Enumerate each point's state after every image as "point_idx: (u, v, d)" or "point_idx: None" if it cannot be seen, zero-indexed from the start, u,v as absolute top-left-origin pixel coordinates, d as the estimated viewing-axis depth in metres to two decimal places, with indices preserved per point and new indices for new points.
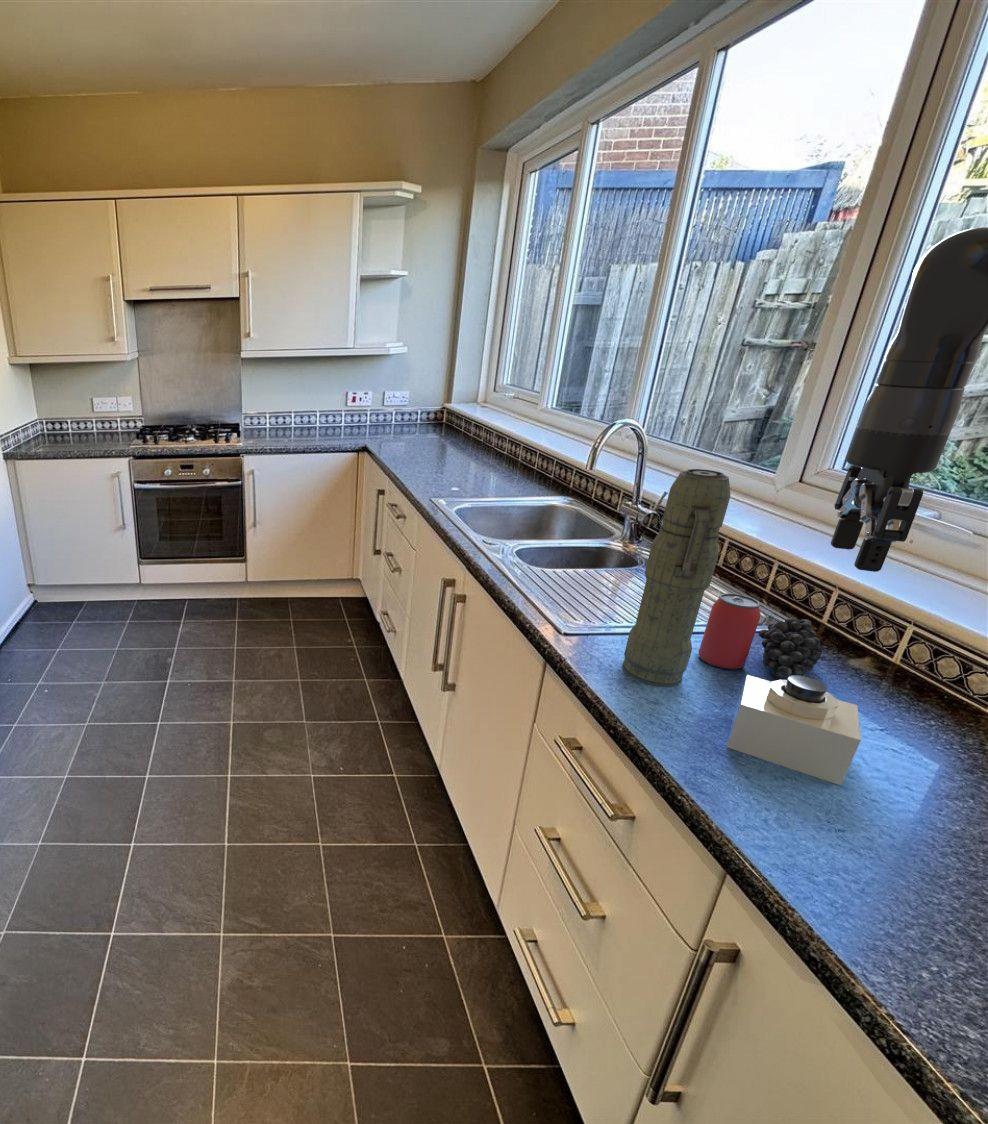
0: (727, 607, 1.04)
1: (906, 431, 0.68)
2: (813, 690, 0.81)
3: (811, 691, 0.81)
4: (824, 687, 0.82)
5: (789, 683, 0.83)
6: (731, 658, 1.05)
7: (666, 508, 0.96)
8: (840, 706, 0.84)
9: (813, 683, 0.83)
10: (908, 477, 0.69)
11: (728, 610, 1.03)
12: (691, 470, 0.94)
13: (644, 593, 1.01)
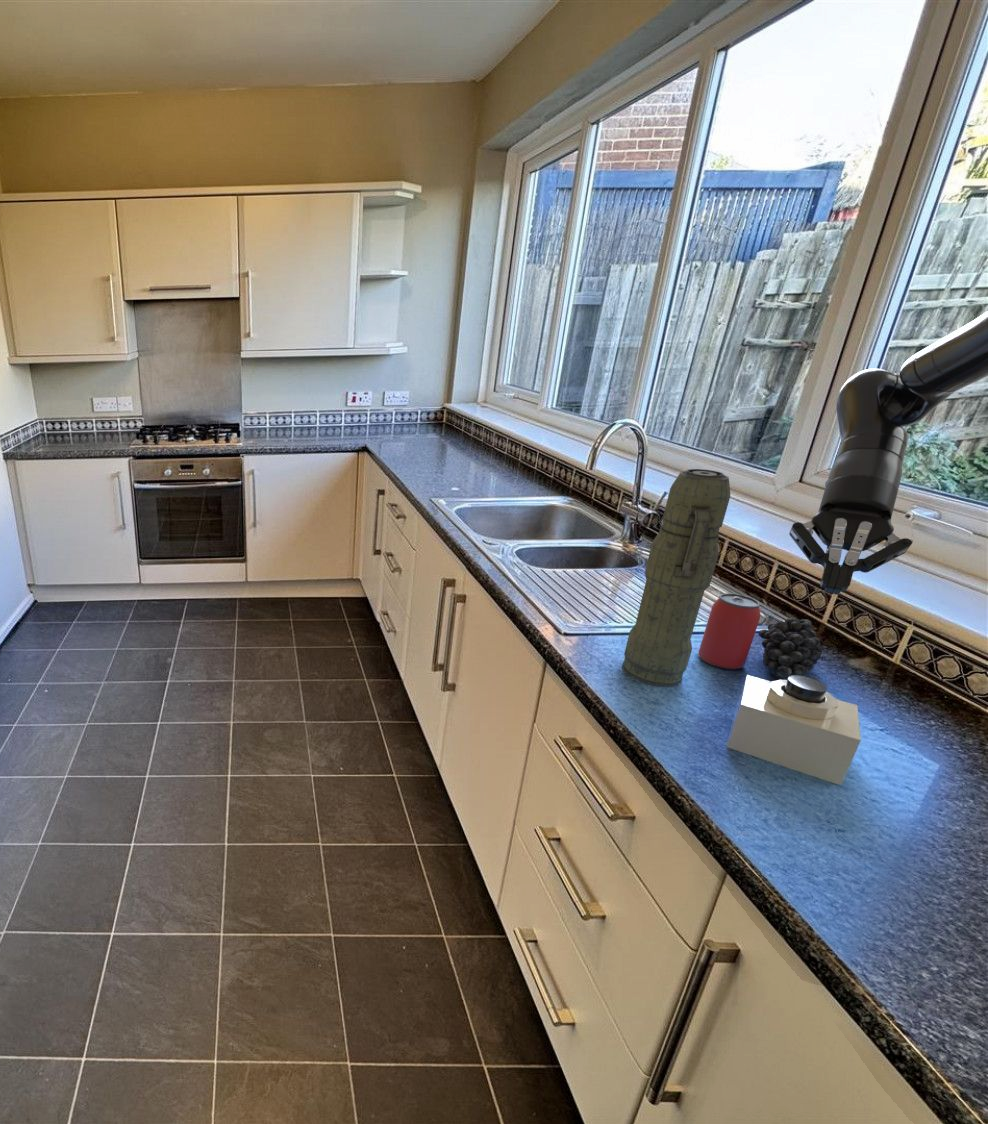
0: (727, 607, 1.04)
1: None
2: (813, 690, 0.81)
3: (811, 691, 0.81)
4: (824, 687, 0.82)
5: (789, 683, 0.83)
6: (731, 658, 1.05)
7: (666, 508, 0.96)
8: (840, 706, 0.84)
9: (813, 683, 0.83)
10: (820, 510, 0.90)
11: (727, 610, 1.03)
12: (691, 470, 0.94)
13: (644, 593, 1.01)
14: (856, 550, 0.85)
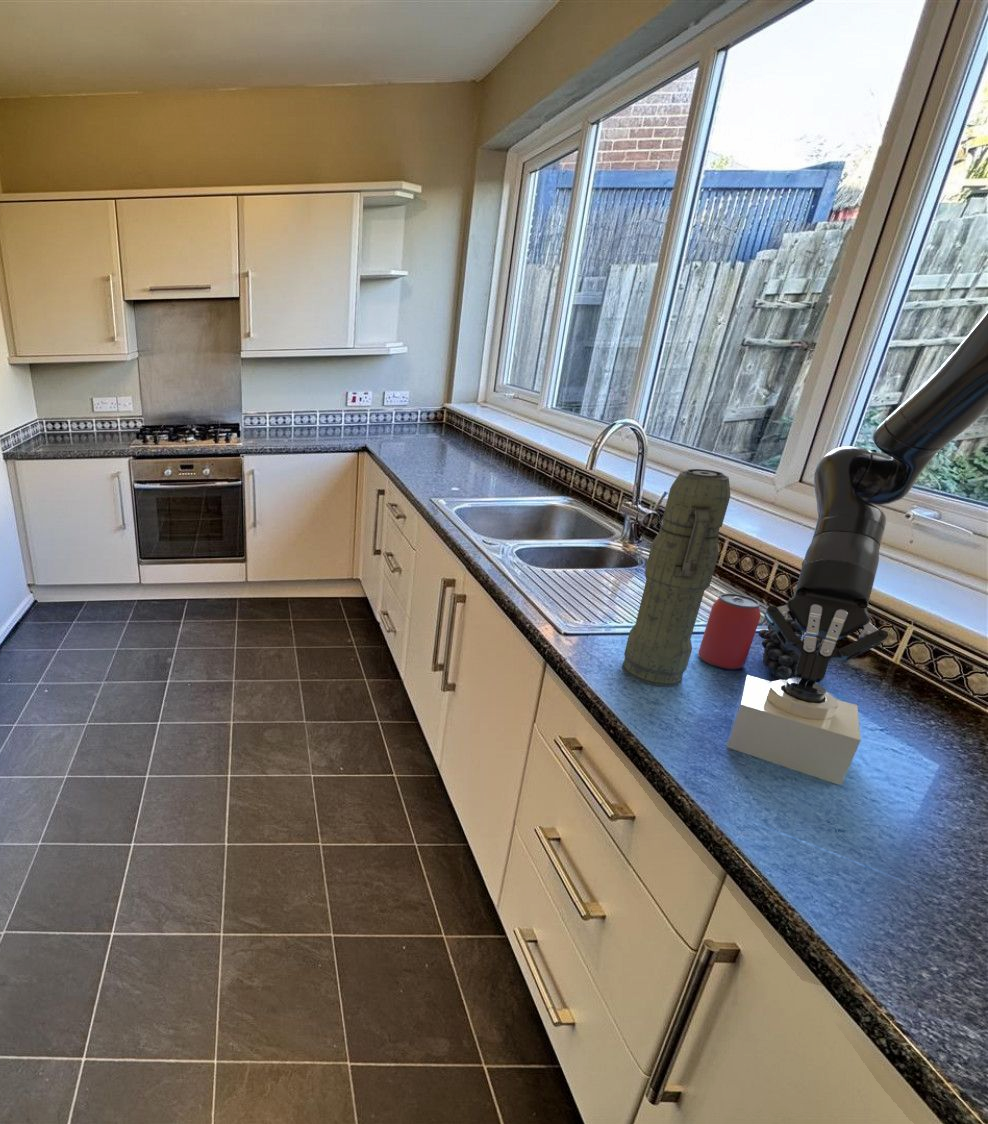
0: (727, 607, 1.04)
1: None
2: (812, 692, 0.81)
3: (811, 693, 0.81)
4: (823, 689, 0.82)
5: (788, 685, 0.84)
6: (731, 658, 1.05)
7: (666, 508, 0.96)
8: (840, 706, 0.84)
9: (812, 685, 0.83)
10: (795, 593, 0.87)
11: (728, 610, 1.03)
12: (691, 470, 0.94)
13: (644, 593, 1.01)
14: (831, 640, 0.82)
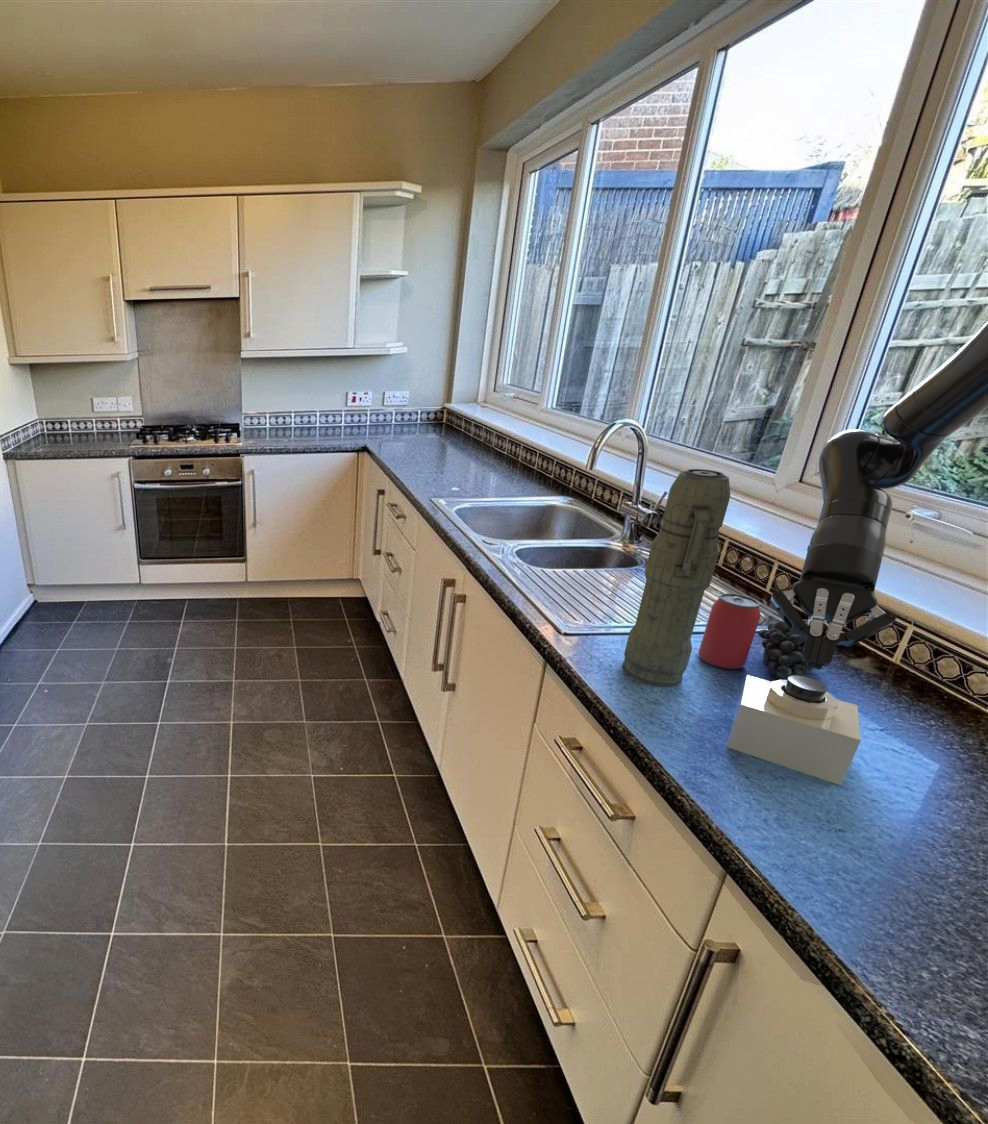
0: (727, 607, 1.04)
1: (807, 552, 0.89)
2: (813, 690, 0.81)
3: (811, 691, 0.81)
4: (824, 687, 0.82)
5: (789, 683, 0.83)
6: (731, 658, 1.05)
7: (666, 508, 0.96)
8: (840, 706, 0.84)
9: (813, 683, 0.83)
10: (801, 578, 0.86)
11: (728, 610, 1.03)
12: (691, 470, 0.94)
13: (644, 593, 1.01)
14: (838, 623, 0.82)
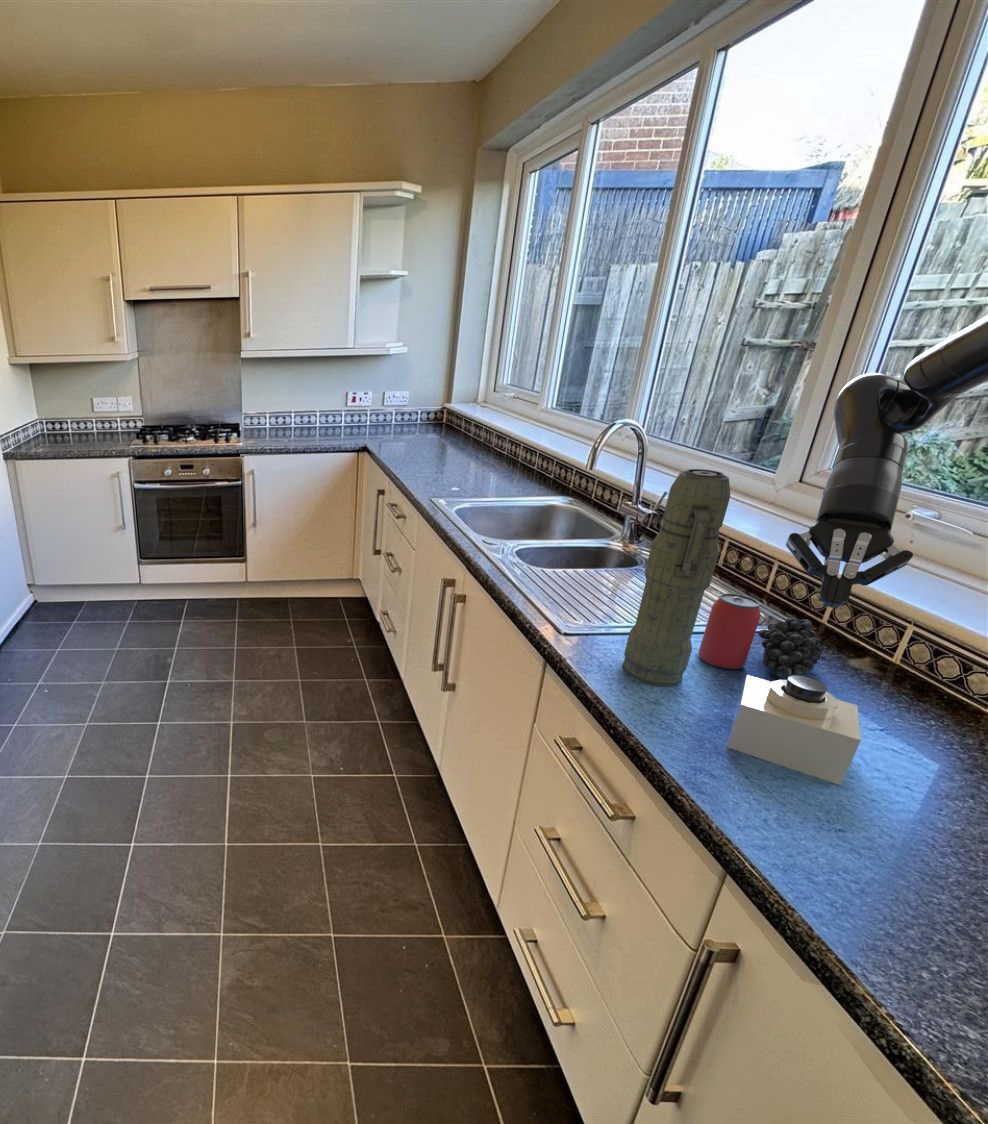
0: (727, 607, 1.04)
1: None
2: (813, 690, 0.81)
3: (811, 691, 0.81)
4: (824, 687, 0.82)
5: (789, 683, 0.83)
6: (731, 658, 1.05)
7: (666, 508, 0.96)
8: (840, 706, 0.84)
9: (813, 683, 0.83)
10: (817, 520, 0.87)
11: (728, 610, 1.03)
12: (691, 470, 0.94)
13: (644, 593, 1.01)
14: (855, 562, 0.82)
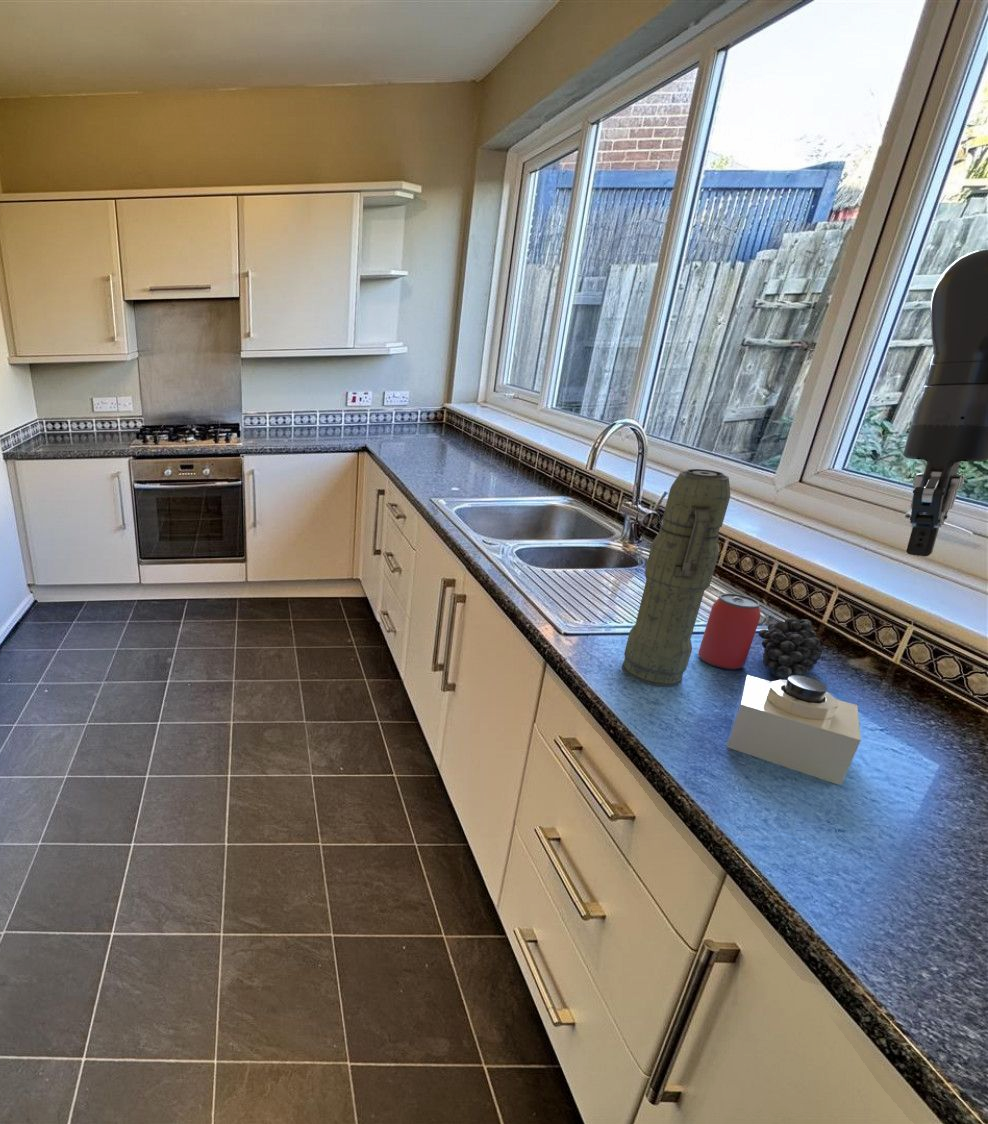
0: (727, 607, 1.04)
1: (939, 422, 0.77)
2: (813, 690, 0.81)
3: (811, 691, 0.81)
4: (824, 687, 0.82)
5: (789, 683, 0.83)
6: (731, 658, 1.05)
7: (666, 508, 0.96)
8: (840, 706, 0.84)
9: (813, 683, 0.83)
10: (947, 464, 0.77)
11: (728, 610, 1.03)
12: (691, 470, 0.94)
13: (644, 593, 1.01)
14: (948, 509, 0.80)
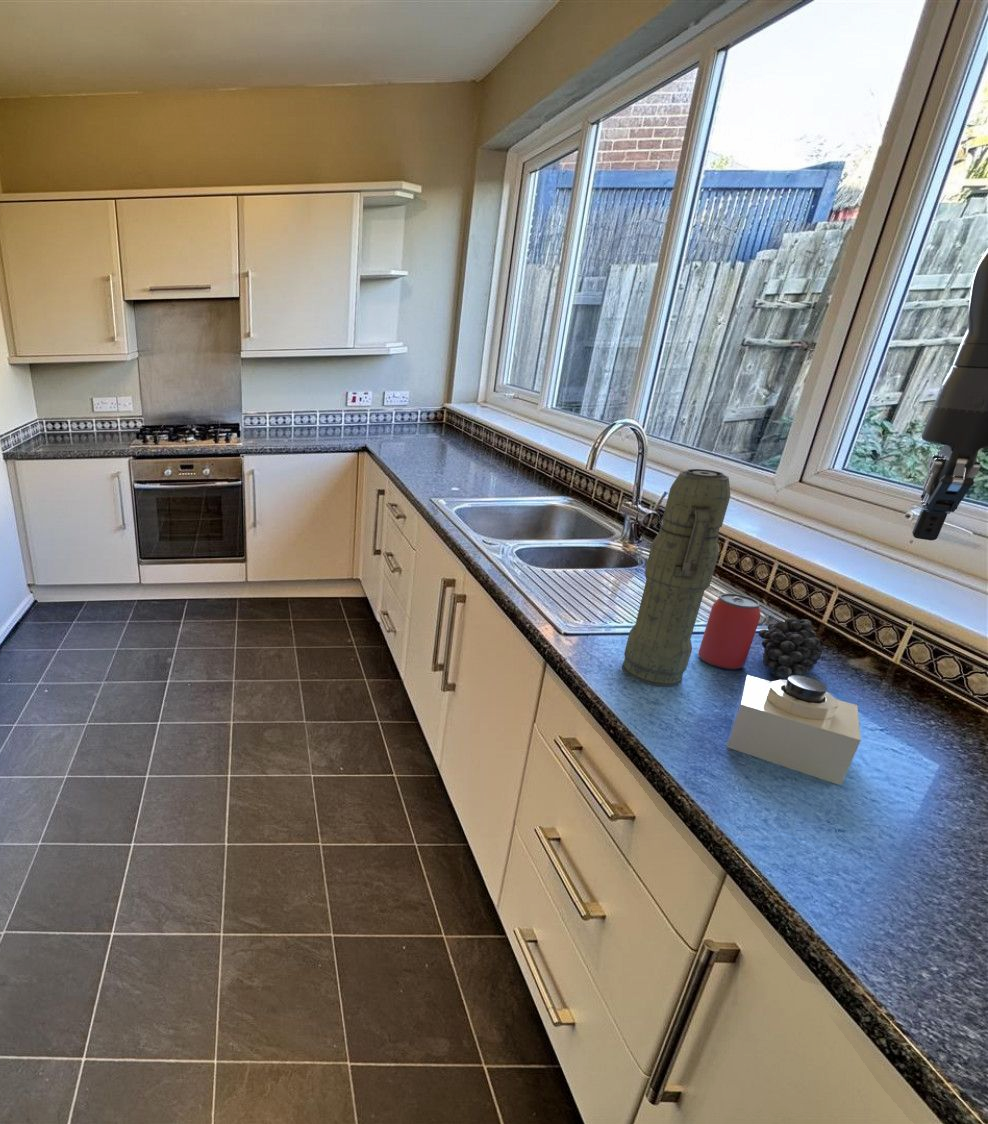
0: (727, 607, 1.04)
1: (973, 408, 0.74)
2: (813, 690, 0.81)
3: (811, 691, 0.81)
4: (824, 687, 0.82)
5: (789, 683, 0.83)
6: (731, 658, 1.05)
7: (666, 508, 0.96)
8: (840, 706, 0.84)
9: (813, 683, 0.83)
10: (975, 451, 0.75)
11: (728, 610, 1.03)
12: (691, 470, 0.94)
13: (644, 593, 1.01)
14: None
